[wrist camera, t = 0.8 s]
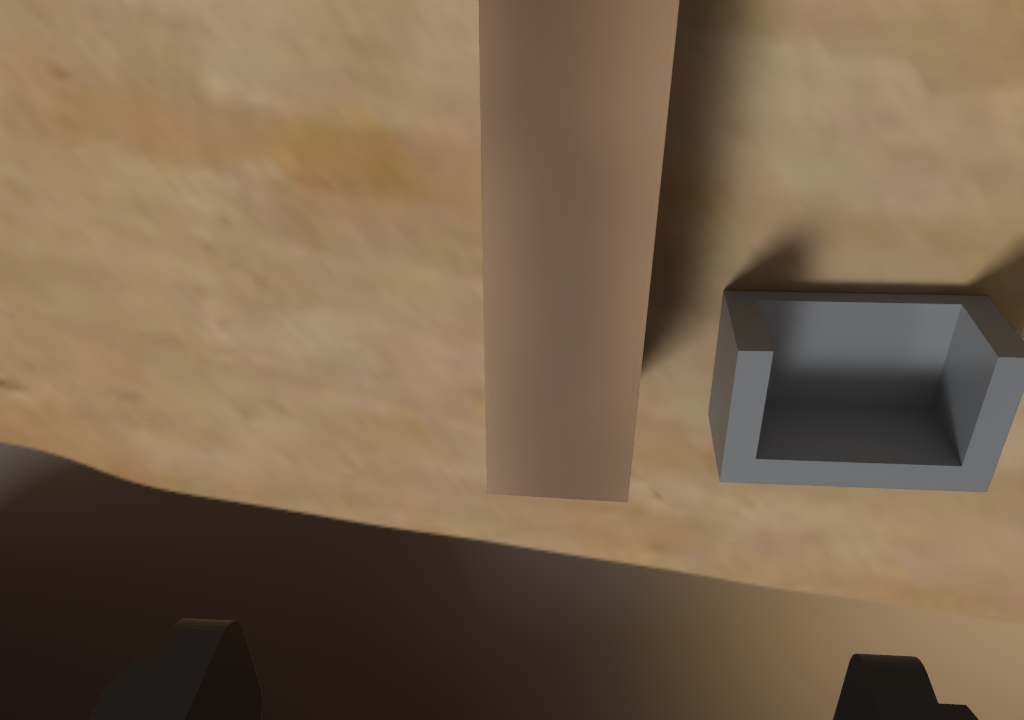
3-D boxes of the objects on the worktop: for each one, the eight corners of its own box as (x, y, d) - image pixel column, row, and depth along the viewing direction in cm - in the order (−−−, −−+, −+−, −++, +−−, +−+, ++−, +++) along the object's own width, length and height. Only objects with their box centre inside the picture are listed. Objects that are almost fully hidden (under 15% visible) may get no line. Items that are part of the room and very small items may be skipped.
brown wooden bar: (670, -132, 22) (690, -108, 17) (623, 386, 31) (627, 502, 26) (504, -134, 22) (477, -111, 17) (505, 380, 31) (487, 493, 26)
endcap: (708, 414, 31) (719, 482, 28) (723, 290, 28) (738, 350, 25) (948, 422, 30) (987, 491, 27) (988, 295, 27) (1035, 358, 24)
